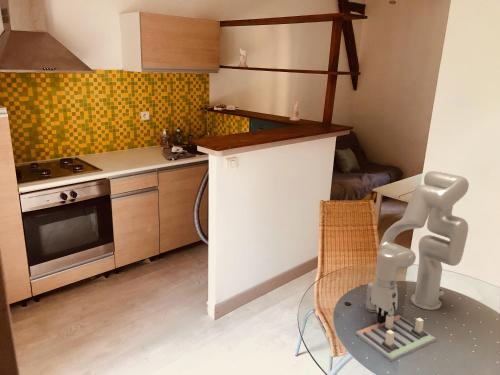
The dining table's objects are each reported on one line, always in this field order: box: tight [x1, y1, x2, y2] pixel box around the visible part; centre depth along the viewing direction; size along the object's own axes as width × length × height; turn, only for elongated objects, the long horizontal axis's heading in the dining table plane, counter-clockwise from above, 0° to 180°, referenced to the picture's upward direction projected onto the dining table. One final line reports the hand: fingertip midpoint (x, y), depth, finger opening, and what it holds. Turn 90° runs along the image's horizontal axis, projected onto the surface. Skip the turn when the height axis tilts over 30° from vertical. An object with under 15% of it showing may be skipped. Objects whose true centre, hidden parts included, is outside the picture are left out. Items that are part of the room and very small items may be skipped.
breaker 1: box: [382, 314, 396, 332], centre depth 159 cm, size 3×4×6 cm
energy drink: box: [365, 281, 377, 313], centre depth 175 cm, size 5×5×12 cm
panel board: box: [355, 314, 437, 362], centre depth 157 cm, size 24×18×2 cm
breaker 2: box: [382, 330, 396, 351], centre depth 149 cm, size 3×4×6 cm
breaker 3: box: [411, 317, 426, 337], centre depth 157 cm, size 3×4×6 cm
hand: (381, 322), depth 163 cm, fingers closed
